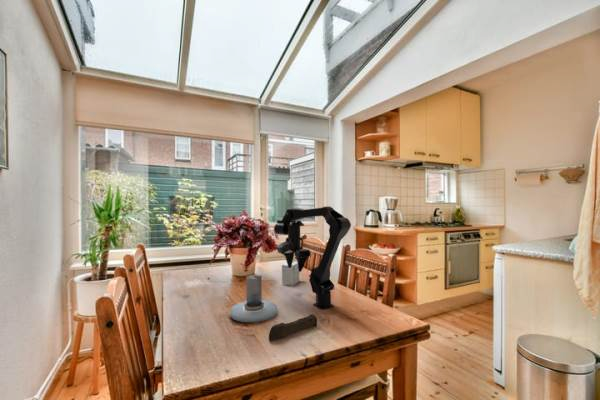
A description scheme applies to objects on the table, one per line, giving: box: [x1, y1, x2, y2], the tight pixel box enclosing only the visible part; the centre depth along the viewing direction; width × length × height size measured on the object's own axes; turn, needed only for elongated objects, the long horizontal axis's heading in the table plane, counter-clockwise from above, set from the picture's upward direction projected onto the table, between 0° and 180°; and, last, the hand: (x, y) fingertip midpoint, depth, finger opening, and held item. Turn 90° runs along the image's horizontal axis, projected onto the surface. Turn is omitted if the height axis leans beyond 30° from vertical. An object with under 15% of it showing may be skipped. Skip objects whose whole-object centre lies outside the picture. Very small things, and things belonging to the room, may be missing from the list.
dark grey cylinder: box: [244, 274, 264, 311], centre depth 112 cm, size 8×8×12 cm
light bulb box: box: [281, 260, 301, 287], centre depth 155 cm, size 11×7×11 cm, turn 161°
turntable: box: [230, 299, 278, 323], centre depth 111 cm, size 18×18×2 cm
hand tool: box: [268, 314, 318, 342], centre depth 95 cm, size 19×4×5 cm, turn 126°
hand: (294, 269), depth 129 cm, fingers open, 9 cm apart
